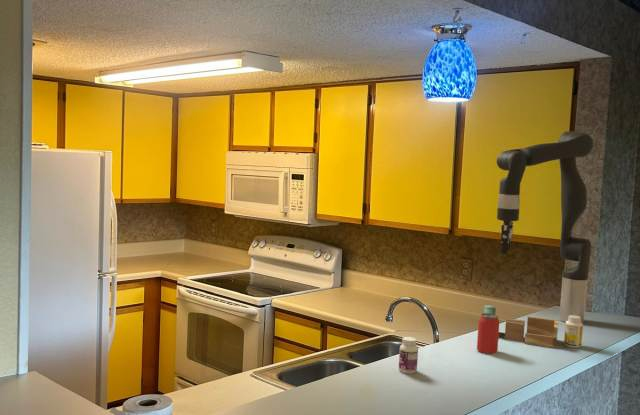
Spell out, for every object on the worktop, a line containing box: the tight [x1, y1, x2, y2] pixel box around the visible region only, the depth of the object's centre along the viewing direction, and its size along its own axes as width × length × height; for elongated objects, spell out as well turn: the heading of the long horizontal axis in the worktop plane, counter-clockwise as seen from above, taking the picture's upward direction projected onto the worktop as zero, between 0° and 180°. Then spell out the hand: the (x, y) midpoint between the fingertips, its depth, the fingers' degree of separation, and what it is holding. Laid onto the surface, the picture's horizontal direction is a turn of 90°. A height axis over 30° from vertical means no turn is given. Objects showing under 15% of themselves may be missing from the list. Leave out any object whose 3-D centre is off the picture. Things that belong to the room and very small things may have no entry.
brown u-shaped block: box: [524, 316, 559, 349], centre depth 220 cm, size 11×10×7 cm
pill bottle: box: [398, 336, 419, 375], centre depth 184 cm, size 5×5×10 cm
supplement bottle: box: [563, 315, 584, 349], centre depth 216 cm, size 6×6×10 cm
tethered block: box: [483, 305, 526, 342], centre depth 224 cm, size 6×14×10 cm, turn 69°
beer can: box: [476, 312, 500, 355], centre depth 206 cm, size 7×7×12 cm
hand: (505, 251), depth 227 cm, fingers open, 8 cm apart
